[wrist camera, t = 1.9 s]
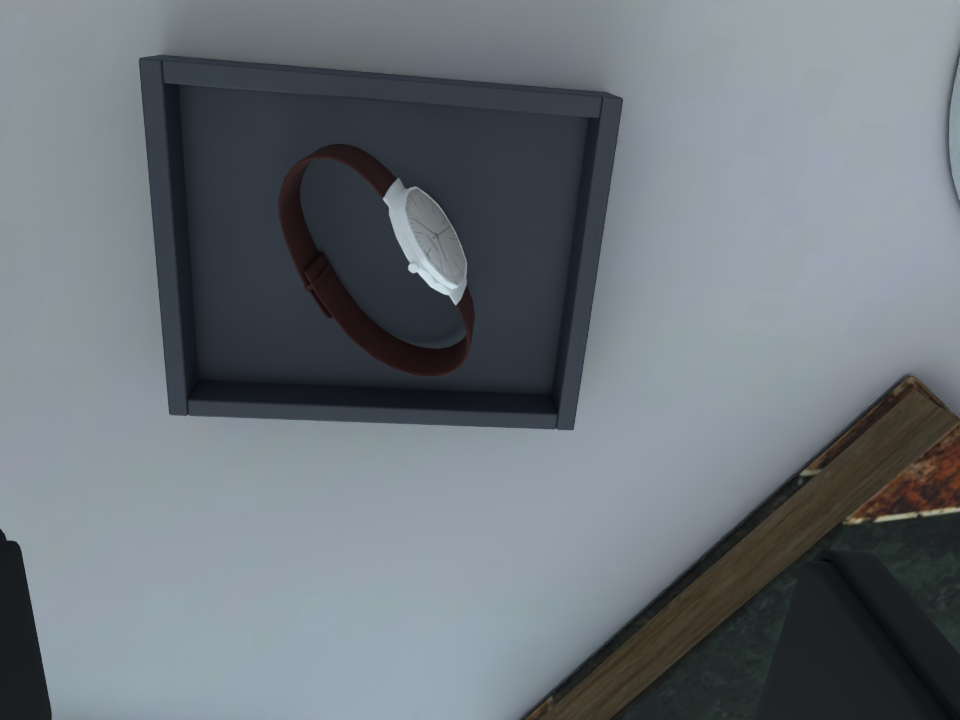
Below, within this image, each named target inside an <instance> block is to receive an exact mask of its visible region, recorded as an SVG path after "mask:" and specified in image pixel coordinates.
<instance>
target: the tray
mask: <svg viewBox="0 0 960 720" xmlns="http://www.w3.org/2000/svg"><path fill="white" fill-rule="evenodd" d="M139 67H140V79H141V90H142V102H143V114H144V125H145V137H146V149H147V160H148V172H149V184H150V195H151V207H152V219H153V230H154V242H155V254H156V265H157V277H158V288H159V300H160V312H161V323H162V335H163V347H164V358H165V370H166V382H167V393H168V405H169V414H170V415H181V416H187V415H188V414H189V415H190V416H208V417H235V418H262V419H289V420H316V421H343V422H370V423H397V424H424V425H451V426H478V427H505V428H532V429H558V430H573V429H574V423H575V417H576V410H577V403H578V397H579V390H580V383H581V377H582V370H583V363H584V357H585V350H586V343H587V337H588V330H589V323H590V317H591V310H592V303H593V297H594V290H595V283H596V276H597V270H598V263H599V256H600V250H601V243H602V236H603V230H604V223H605V216H606V210H607V203H608V196H609V190H610V183H611V176H612V170H613V163H614V156H615V150H616V143H617V136H618V130H619V123H620V116H621V110H622V103H623V99H622V98H621V97H618V96H615V95H612V94H610V93H607V92H595V91H583V90H571V89H559V88H547V87H536V86H524V85H512V84H500V83H488V82H476V81H464V80H452V79H440V78H429V77H417V76H405V75H393V74H381V73H369V72H357V71H345V70H333V69H322V68H310V67H298V66H286V65H274V64H262V63H250V62H238V61H226V60H215V59H203V58H191V57H179V56H167V55H157V56H150V57H143V58H140V59H139ZM332 144H347V145H351V146H355V147H358V148H360V149H361V150H363V151H365V152H367V153H369V154H371V155H372V156H373V157H375V158H376V159H377V160H378V161H380V162H381V163H382V164H383V165H384V166H385V167H386V168H387V169H388V170H389V171H390V172H391V173H392V174H393V175H394V176H395V178H396V179H398V178H399V179H400V180H401V182H402V184H403V186H404V188H406V189H409V188H410V187H415V186H416V187H418V188H419V189H421V190H422V191H424V192H425V193H426V194H428V195H429V196H430V197H431V198H432V199H433V200H434V201H435V202H436V203H437V204H438V205H439V206H440V208H441V209H442V210H443V212H444V213H445V215H446V217H447V218H448V220H449V221H450V223H451V225H452V226H453V228H454V230H455V232H456V234H457V236H458V239H459V241H460V243H461V246H462V249H463V252H464V255H465V258H466V261H467V274H466V279H467V287H468V289H469V292H470V294H471V297H472V300H473V305H474V312H475V320H474V327H473V335H472V341H471V346H470V350H469V354H468V357H467V359H466V360H465V362H464V363H463V364H462V365H461V367H460V368H458V369H457V370H455V371H453V372H452V373H450V374H446V375H443V376H434V377H424V376H418V375H412V374H408V373H405V372H402V371H399V370H396V369H394V368H392V367H390V366H388V365H386V364H384V363H382V362H380V361H379V360H377V359H375V358H374V357H372V356H371V355H370V354H368V353H367V352H366V351H365V350H363V349H362V348H361V347H359V346H358V345H357V344H356V343H355V342H354V341H353V340H352V339H351V338H350V337H349V336H348V335H347V334H346V333H345V332H344V331H343V329H342V328H341V327H340V326H339V324H338V323H337V322H336V320H335V319H334V318H327V317H326V316H325V315H324V314H323V313H322V311H321V310H320V308H319V307H318V305H317V304H316V302H315V301H314V299H313V298H312V296H311V295H310V293H309V292H306V289H305V287H304V283H303V281H302V279H301V277H300V276H299V274H298V272H297V269H296V267H295V264H294V262H293V259H292V257H291V255H290V252H289V250H288V247H287V245H286V242H285V239H284V236H283V232H282V228H281V224H280V220H279V212H278V201H279V196H280V191H281V187H282V184H283V181H284V178H285V177H286V175H287V174H288V173H289V171H290V170H291V168H292V167H293V166H294V165H295V164H296V163H297V162H298V161H300V160H302V159H304V158H305V157H307V156H308V155H310V154H312V153H313V152H315V151H317V150H318V149H320V148H322V147H325V146H327V145H332ZM300 200H301V207H302V212H303V215H304V218H305V222H306V225H307V228H308V230H309V232H310V234H311V236H312V239H313V241H314V243H315V245H316V247H317V250H318V252H319V253H320V252H322V251H323V252H324V254H325V256H326V258H327V259H328V261H329V262H330V265H331V267H332V268H333V270H334V272H335V274H336V276H337V278H338V280H339V281H340V282H341V284H342V285H343V286H344V288H345V289H346V290H347V292H348V293H349V294H350V296H351V297H352V298H353V299H354V301H355V302H356V303H357V305H358V306H359V307H360V308H361V309H362V310H363V311H364V312H365V313H366V315H367V316H368V317H370V318H371V319H372V320H373V321H374V322H375V323H376V324H378V325H379V326H380V327H381V328H382V329H384V330H385V331H387V332H388V333H390V334H391V335H393V336H395V337H396V338H398V339H400V340H403V341H405V342H407V343H409V344H412V345H416V346H420V347H424V348H436V349H440V348H446V347H450V346H452V345H454V344H456V343H458V342H459V341H461V340H462V339H463V338H464V337H465V335H466V329H465V325H464V322H463V319H462V317H461V315H460V313H459V311H458V309H457V307H456V305H455V304H454V303H453V301H452V299H451V298H450V296H449V295H444V294H442V293H440V292H439V291H437V290H435V289H433V288H431V287H430V286H429V285H428V284H427V282H426V281H425V280H424V279H423V278H422V277H421V276H420V275H419V274H418V273H417V272H416V273H411V272H410V271H409V270H408V266H409V264H410V262H409V261H408V259H407V258H406V256H405V254H404V252H403V250H402V248H401V246H400V244H399V242H398V240H397V238H396V235H395V232H394V229H393V226H392V223H391V219H390V216H389V207H388V205H387V204H386V203H385V201H384V200H383V199H382V197H381V196H380V195H379V194H378V192H377V191H376V190H375V189H374V187H373V186H372V185H371V184H370V183H369V182H368V181H367V180H366V179H365V178H364V177H362V176H361V175H360V174H359V173H358V172H356V171H355V170H354V169H353V168H351V167H349V166H347V165H345V164H343V163H341V162H338V161H335V160H332V159H314V160H312V161H311V163H310V164H309V165H308V167H307V169H306V171H305V173H304V174H303V179H302V183H301V187H300Z"/></svg>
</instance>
